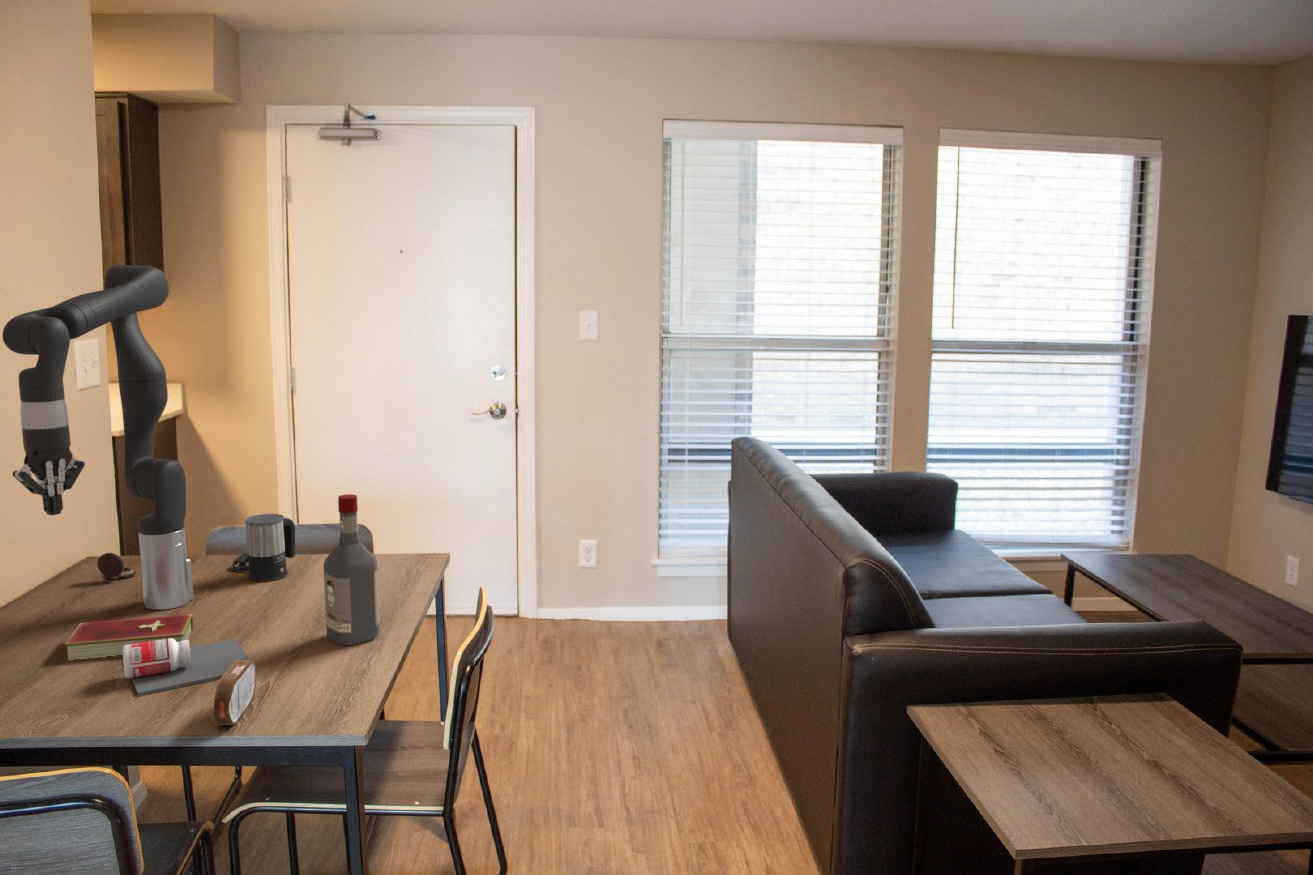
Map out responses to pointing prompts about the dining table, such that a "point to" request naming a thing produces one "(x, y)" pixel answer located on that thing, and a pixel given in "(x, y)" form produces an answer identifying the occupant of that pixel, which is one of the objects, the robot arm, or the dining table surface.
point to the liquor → (351, 583)
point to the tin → (234, 692)
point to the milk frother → (267, 547)
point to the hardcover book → (124, 635)
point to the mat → (195, 667)
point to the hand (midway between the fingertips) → (54, 514)
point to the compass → (114, 567)
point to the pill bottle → (155, 657)
